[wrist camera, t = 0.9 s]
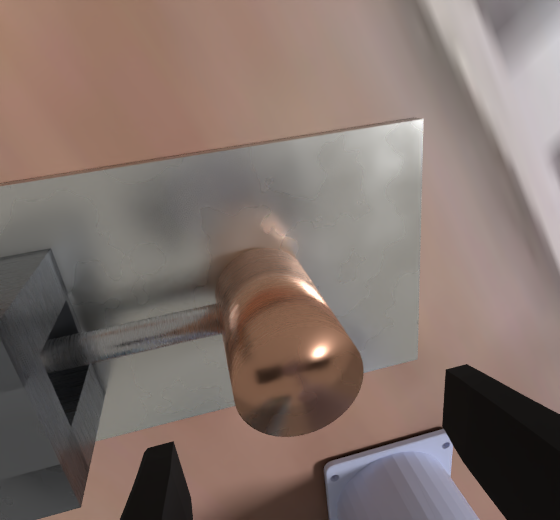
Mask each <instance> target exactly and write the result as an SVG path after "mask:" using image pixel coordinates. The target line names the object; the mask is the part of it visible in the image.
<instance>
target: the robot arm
mask: <svg viewBox="0 0 560 520" xmlns="http://www.w3.org/2000/svg"><path fill="white" fill-rule="evenodd" d="M442 427H443V428H444V429H441V430H437V431H434V432H430V433H427V434H423V435H420V436H416V437H413V438H409V439H406V440H402V441H399V442H395V443H392V444H388V445H385V446H381V447H378V448H374V449H371V450H367V451H364V452H360V453H357V454H353V455H350V456H346V457H343V458H339V459H336V460H332V461H330V462H328V463H327V464H326V465H325V466H324V477H325V486H326V496H327V505H328V515H329V520H479V518H478V517H477V515H476V514H475V512H474V511H473V509H472V508H471V506H470V505H469V504H468V502H467V501H466V499H465V498H464V496H463V495H462V493H461V492H460V491H459V489H458V488H457V486H456V485H455V483H454V482H453V480H452V479H451V463H452V450H453V446H454V448H455V449H456V451H457V452H458V454H459V456H460V457H461V459H462V461H463V462H464V464H465V465H466V466H467V468H468V469H469V470H470V472H471V473H472V475H473V476H474V477H475V479H476V480H477V481H478V482H479V484H480V485H481V486H482V488H483V489H484V490H485V492H486V493H487V494H488V496H489V497H490V498H491V500H492V501H493V502H494V504H495V505H496V506H497V508H498V509H499V510H500V511H501V513H502V514H503V515H504V517H505V518H506V519H507V520H560V414H558V413H556V412H554V411H552V410H550V409H548V408H546V407H545V406H543V405H541V404H539V403H537V402H535V401H533V400H531V399H530V398H528V397H526V396H524V395H522V394H520V393H519V392H517V391H515V390H513V389H511V388H510V387H508V386H506V385H504V384H502V383H500V382H499V381H497V380H495V379H493V378H491V377H490V376H488V375H486V374H484V373H482V372H480V371H479V370H477V369H475V368H473V367H471V366H469V365H467V364H466V365H462V366H458V367H454V368H450V369H447V370H446V376H445V392H444V408H443V424H442ZM120 520H193V514H192V503H191V496H190V493H189V490H188V487H187V483H186V480H185V477H184V474H183V471H182V467H181V464H180V461H179V458H178V454H177V451H176V448H175V445H174V441H173V442H169V443H166V444H162V445H158V446H154V447H150V448H148V449H147V450H146V451H145V452H144V455H143V458H142V461H141V464H140V467H139V470H138V473H137V476H136V479H135V482H134V485H133V487H132V490H131V493H130V495H129V498H128V500H127V503H126V506H125V508H124V511H123V513H122V515H121V518H120Z"/></svg>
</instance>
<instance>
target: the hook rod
mask: <svg viewBox="0 0 560 520" xmlns="http://www.w3.org/2000/svg"><path fill="white" fill-rule="evenodd" d="M215 299H216V304H212V305H207V306H203V307H198V308H193V309H189V310H184V311H180V312H175V313H170V314H166V315H161V316H156V317H152V318H147V319H142V320H138V321H133V322H128V323H124V324H119V325H115V326H110V327H105V328H101V329H96V330H91V331H87V332H82V333H77V334H73V335H68V336H63V337H59V338H54V339H50V340H47V341H46V343H45V345H44V347H43V349H42V351H41V353H40V355H39V356H40V358H41V360H42V363H43V365H44V367H45V369H46V372H47V374H48V373H53V372H57V371H62V370H66V369H70V368H75V367H79V366H84V365H88V364H92V363H97V362H101V361H106V360H110V359H114V358H119V357H123V356H128V355H132V354H136V353H141V352H145V351H150V350H154V349H158V348H163V347H167V346H172V345H176V344H180V343H185V342H189V341H194V340H198V339H202V338H207V337H211V336H216V335H220V334H222V337H223V343H224V348H225V354H226V359H227V365H228V370H229V375H230V381H231V386H232V392H233V397H234V402H235V405H236V409H237V411H238V413H239V415H240V416H241V417H242V419H243V420H244V421H245V422H246V423H247V424H248V425H250V426H251V427H252V428H254V429H256V430H258V431H260V432H262V433H265V434H268V435H273V436H280V437H292V436H299V435H304V434H308V433H311V432H314V431H316V430H319V429H321V428H323V427H325V426H327V425H329V424H330V423H332V422H333V421H335V420H336V419H337V418H338V417H340V416H341V415H342V414H343V413H344V412H345V411H346V410H347V409H348V408H349V407H350V405H351V404H352V403H353V401H354V400H355V398H356V396H357V394H358V392H359V390H360V388H361V384H362V380H363V371H364V368H363V361H362V358H361V355H360V353H359V351H358V349H357V348H356V346H355V345H354V343H353V342H352V340H351V339H350V337H349V336H348V334H347V333H346V331H345V330H344V328H343V327H342V325H341V324H340V322H339V321H338V319H337V318H336V316H335V315H334V313H333V312H332V310H331V309H330V307H329V306H328V304H327V303H326V301H325V300H324V298H323V297H322V295H321V294H320V293H319V291H318V290H317V288H316V287H315V285H314V284H313V282H312V281H311V279H310V278H309V276H308V275H307V273H306V272H305V270H304V269H303V267H302V266H301V264H300V263H299V262H298V261H297V260H296V259H295V258H294V257H293V256H291V255H290V254H288V253H286V252H284V251H281V250H278V249H273V248H259V249H254V250H250V251H247V252H245V253H243V254H241V255H239V256H237V257H236V258H234V259H233V260H232V261H231V262H230V263H229V264H228V265H227V266H226V267H225V268H224V269H223V271H222V272H221V274H220V276H219V278H218V281H217V284H216V289H215Z"/></svg>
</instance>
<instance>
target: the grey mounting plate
mask: <svg viewBox="0 0 560 520" xmlns="http://www.w3.org/2000/svg"><path fill="white" fill-rule="evenodd" d="M422 156H423V119H421V118H411V119H404V120H398V121H392V122H385V123H379V124H373V125H366V126H360V127H354V128H347V129H341V130H335V131H328V132H322V133H316V134H309V135H303V136H297V137H291V138H284V139H278V140H272V141H265V142H259V143H253V144H246V145H240V146H234V147H227V148H221V149H215V150H208V151H202V152H196V153H189V154H183V155H177V156H170V157H164V158H158V159H152V160H145V161H139V162H133V163H126V164H120V165H114V166H107V167H101V168H95V169H88V170H82V171H76V172H69V173H63V174H57V175H50V176H44V177H38V178H32V179H25V180H19V181H13V182H6V183H0V520H37V519H40V518H44V517H48V516H51V515H55V514H58V513H62V512H66V511H69V510H73V509H76V508H80V507H81V505H82V500H83V495H84V491H85V486H86V482H87V477H88V472H89V468H90V463H91V458H92V454H93V449H94V445H95V441H99V440H103V439H107V438H111V437H115V436H119V435H122V434H126V433H130V432H134V431H138V430H142V429H146V428H150V427H154V426H158V425H162V424H166V423H169V422H173V421H177V420H181V419H185V418H189V417H193V416H197V415H201V414H205V413H209V412H213V411H217V410H220V409H224V408H228V407H232V406H236V405H235V402H234V397H233V392H232V386H231V381H230V375H229V370H228V365H227V359H226V354H225V348H224V343H223V337H222V334H220V335H216V336H211V337H207V338H202V339H198V340H194V341H189V342H185V343H180V344H176V345H172V346H167V347H163V348H158V349H154V350H150V351H145V352H141V353H136V354H132V355H128V356H123V357H119V358H114V359H110V360H106V361H101V362H97V363H92V364H88V365H84V366H79V367H75V368H70V369H66V370H62V371H57V372H53V373H48V374H47V372H46V369H45V367H44V365H43V363H42V360H41V358H40V356H39V355H40V353H41V351H42V349H43V347H44V345H45V343H46V341H47V340H50V339H54V338H59V337H63V336H68V335H73V334H77V333H82V332H87V331H91V330H96V329H101V328H105V327H110V326H115V325H119V324H124V323H128V322H133V321H138V320H142V319H147V318H152V317H156V316H161V315H166V314H170V313H175V312H180V311H184V310H189V309H193V308H198V307H203V306H207V305H212V304H216V299H215V289H216V284H217V281H218V278H219V276H220V274H221V272H222V271H223V269H224V268H225V267H226V266H227V265H228V264H229V263H230V262H231V261H232V260H233V259H234V258H236V257H237V256H239V255H241V254H243V253H245V252H247V251H250V250H254V249H259V248H273V249H278V250H281V251H284V252H286V253H288V254H290V255H291V256H293V257H294V258H295V259H296V260H297V261H298V262H299V263H300V264H301V266H302V267H303V269H304V270H305V272H306V273H307V275H308V276H309V278H310V279H311V281H312V282H313V284H314V285H315V287H316V288H317V290H318V291H319V293H320V294H321V295H322V297H323V298H324V300H325V301H326V303H327V304H328V306H329V307H330V309H331V310H332V312H333V313H334V315H335V316H336V318H337V319H338V321H339V322H340V324H341V325H342V327H343V328H344V330H345V331H346V333H347V334H348V336H349V337H350V339H351V340H352V342H353V343H354V345H355V346H356V348H357V349H358V351H359V353H360V355H361V358H362V361H363V368H364V371H363V373H365V372H369V371H373V370H377V369H381V368H385V367H389V366H393V365H397V364H401V363H405V362H409V361H413V360H416V359H418V319H419V278H420V237H421V197H422Z"/></svg>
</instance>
